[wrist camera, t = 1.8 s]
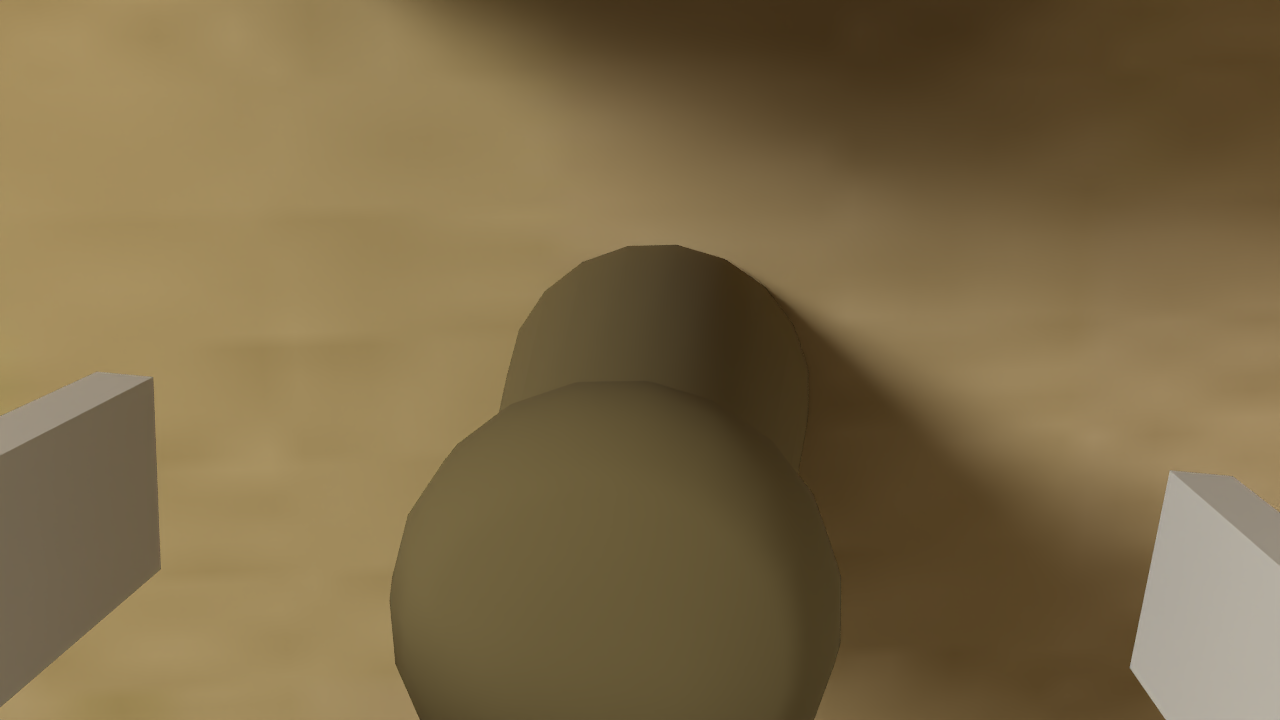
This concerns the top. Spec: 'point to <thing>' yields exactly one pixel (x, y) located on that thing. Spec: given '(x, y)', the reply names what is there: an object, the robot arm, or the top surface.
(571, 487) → the cork
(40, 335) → the top surface
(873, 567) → the top surface
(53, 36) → the top surface
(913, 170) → the top surface
